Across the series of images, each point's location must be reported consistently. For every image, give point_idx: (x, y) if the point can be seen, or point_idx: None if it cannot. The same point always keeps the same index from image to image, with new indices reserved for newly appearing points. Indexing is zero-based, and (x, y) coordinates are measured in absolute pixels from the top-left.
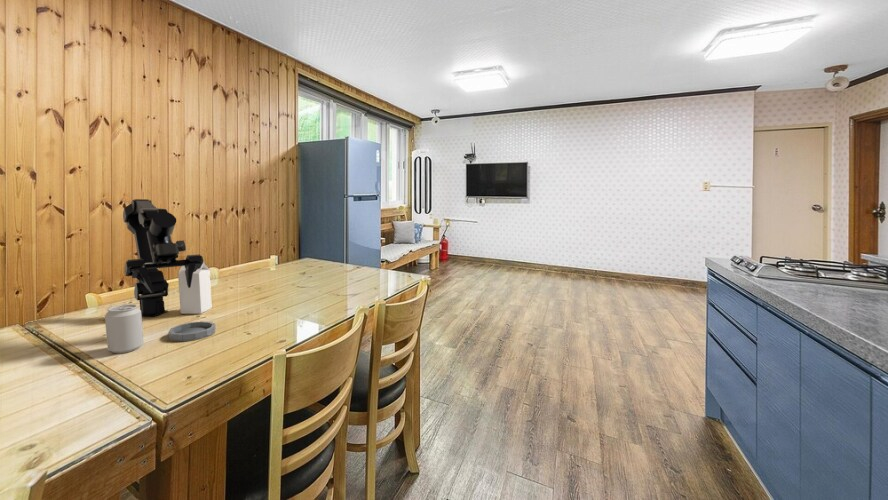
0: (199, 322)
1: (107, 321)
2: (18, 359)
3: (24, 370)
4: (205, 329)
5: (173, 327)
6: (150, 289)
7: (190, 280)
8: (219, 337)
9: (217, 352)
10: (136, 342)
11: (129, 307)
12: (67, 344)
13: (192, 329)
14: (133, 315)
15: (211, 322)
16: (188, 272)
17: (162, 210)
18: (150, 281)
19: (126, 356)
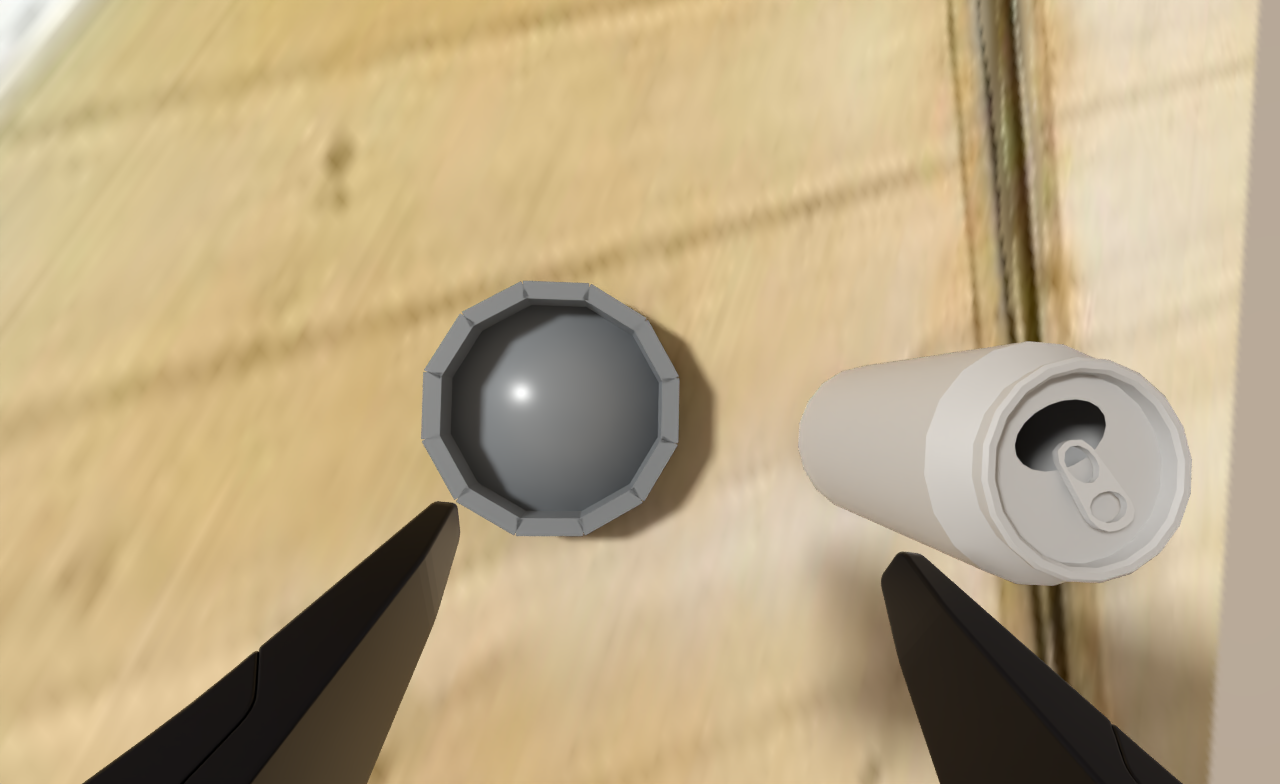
0: (476, 490)
1: (1103, 431)
2: (1186, 661)
3: None
4: (485, 403)
5: (628, 506)
6: (947, 577)
7: (371, 571)
8: (484, 233)
9: (594, 26)
10: (857, 369)
11: (1021, 493)
12: None
13: (536, 466)
14: (993, 349)
15: (425, 425)
16: (250, 765)
17: None
18: (1027, 701)
19: (888, 326)
